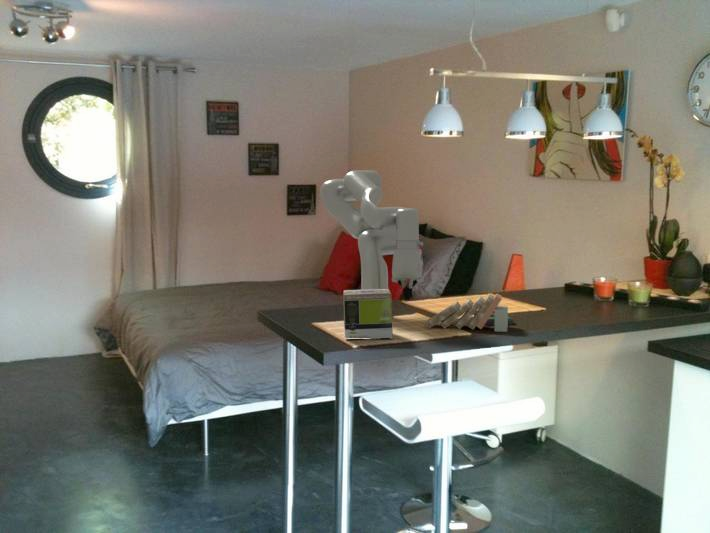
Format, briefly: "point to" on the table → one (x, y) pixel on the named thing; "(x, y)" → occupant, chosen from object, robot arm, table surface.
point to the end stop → (501, 318)
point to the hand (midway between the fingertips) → (407, 299)
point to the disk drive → (492, 319)
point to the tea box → (368, 313)
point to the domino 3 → (470, 312)
